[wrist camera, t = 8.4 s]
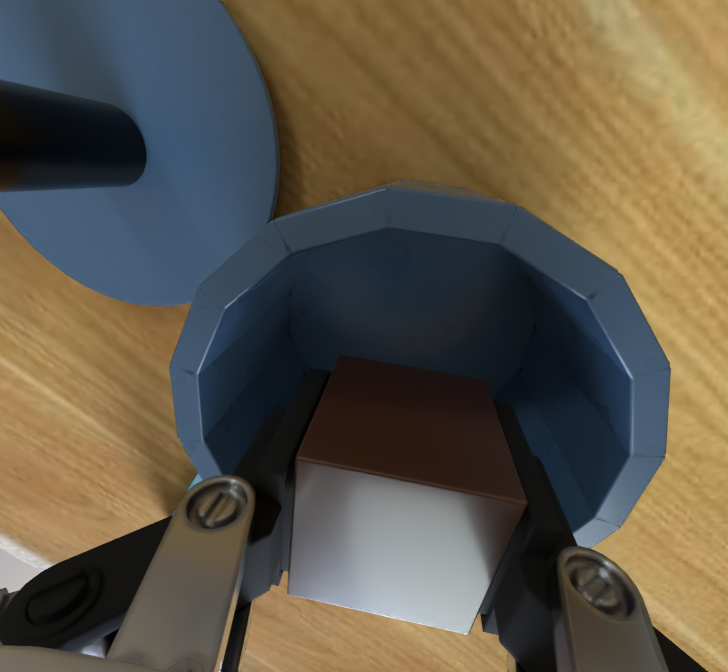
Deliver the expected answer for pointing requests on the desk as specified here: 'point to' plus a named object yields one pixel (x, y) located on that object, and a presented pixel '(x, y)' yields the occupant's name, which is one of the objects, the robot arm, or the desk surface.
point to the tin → (434, 334)
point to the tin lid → (134, 141)
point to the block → (403, 495)
